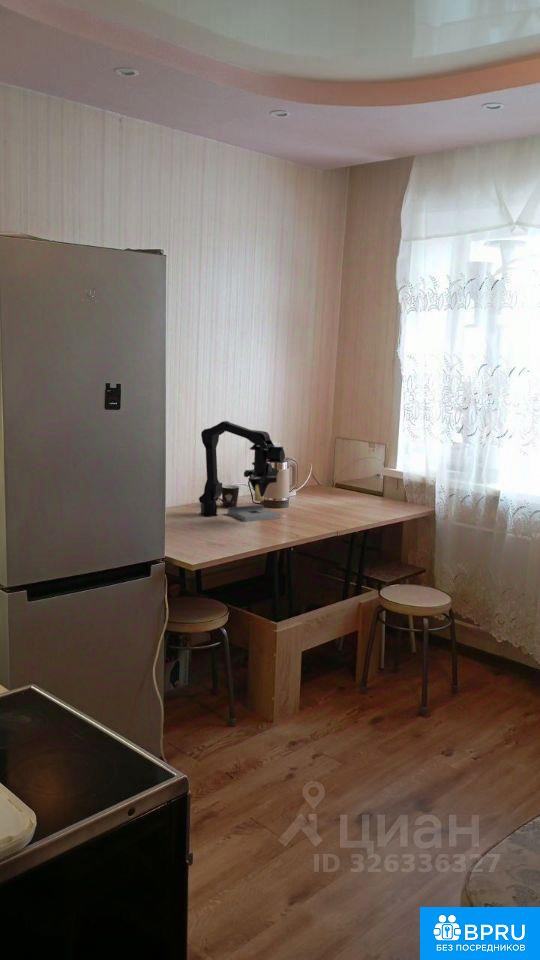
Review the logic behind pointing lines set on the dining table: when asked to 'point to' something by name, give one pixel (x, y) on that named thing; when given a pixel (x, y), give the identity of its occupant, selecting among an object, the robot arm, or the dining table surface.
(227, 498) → the coffee mug
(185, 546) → the dining table surface
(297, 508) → the dining table surface
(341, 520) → the dining table surface
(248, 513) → the jig
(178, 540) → the dining table surface
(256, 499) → the gold rounded cylinder
